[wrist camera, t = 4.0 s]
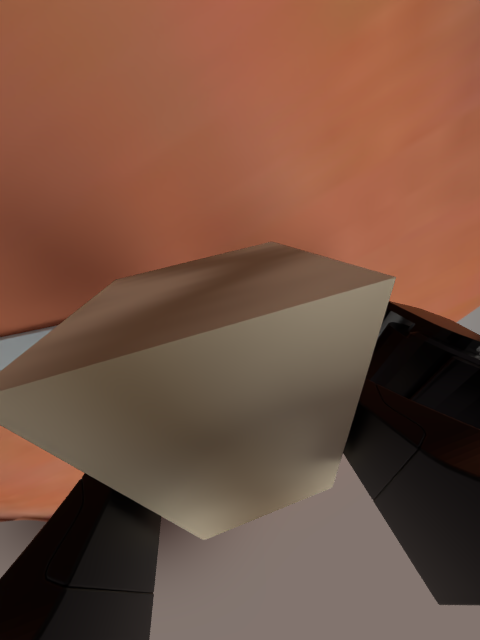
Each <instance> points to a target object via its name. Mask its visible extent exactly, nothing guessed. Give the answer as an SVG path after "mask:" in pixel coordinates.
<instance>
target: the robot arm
mask: <svg viewBox="0 0 480 640" xmlns="http://www.w3.org/2000/svg"><path fill="white" fill-rule="evenodd" d="M343 454H344V455H345V456H346V458H347V460H348V462H349V463H350V465H351V466H352V468H353V469H354V471H355V473H356V474H357V476H358V477H359V479H360V480H361V482H362V484H363V485H364V487H365V488H366V490H367V491H368V493H369V495H370V496H371V498H372V499H373V501H374V503H375V505H376V506H377V508H378V509H379V511H380V512H381V514H382V516H383V517H384V519H385V520H386V522H387V524H388V525H389V527H390V528H391V530H392V532H393V533H394V535H395V536H396V538H397V539H398V541H399V543H400V544H401V546H402V547H403V549H404V551H405V552H406V554H407V555H408V557H409V559H410V560H411V562H412V563H413V565H414V566H415V568H416V570H417V571H418V573H419V574H420V576H421V578H422V579H423V581H424V582H425V584H426V586H427V587H428V589H429V590H430V592H431V593H432V595H433V596H434V598H435V599H436V601H437V602H438V604H439V605H480V335H478V334H477V333H475V332H473V331H471V330H469V329H467V328H465V327H463V326H461V325H459V324H458V323H456V322H454V321H452V320H450V319H447V318H444V317H442V316H439V315H436V314H434V313H431V312H428V311H425V310H423V309H420V308H416V307H412V306H407V305H403V304H399V303H395V302H391V301H389V302H388V305H387V309H386V312H385V315H384V318H383V322H382V325H381V328H380V332H379V335H378V338H377V342H376V345H375V348H374V352H373V355H372V358H371V362H370V365H369V368H368V371H367V375H366V378H365V381H364V385H363V388H362V391H361V395H360V398H359V401H358V405H357V408H356V411H355V415H354V418H353V421H352V424H351V428H350V431H349V434H348V438H347V441H346V444H345V448H344V451H343ZM160 524H161V516H160V515H158V514H157V513H155V512H153V511H151V510H149V509H148V508H146V507H144V506H142V505H141V504H139V503H137V502H135V501H134V500H132V499H130V498H128V497H127V496H125V495H123V494H121V493H119V492H118V491H116V490H114V489H112V488H111V487H109V486H107V485H105V484H104V483H102V482H100V481H98V480H97V479H95V478H93V477H91V476H89V475H88V474H86V473H85V474H84V475H83V476H82V479H80V480H79V481H78V483H77V484H76V485H75V487H74V488H73V489H72V491H71V492H70V493H69V495H68V496H67V497H66V499H65V500H64V501H63V502H62V504H61V505H60V506H59V508H58V509H57V510H56V511H55V513H54V514H53V515H52V517H51V518H50V519H49V520H48V522H47V523H46V524H45V525H44V526H43V528H42V529H41V530H40V531H39V533H38V534H37V535H36V536H35V538H34V539H33V540H32V542H31V543H30V544H29V545H28V546H27V547H26V549H25V550H24V551H23V552H22V553H21V555H20V556H19V557H18V558H17V559H16V561H15V562H14V563H13V564H12V565H11V567H10V568H9V569H8V570H7V571H6V573H5V574H4V575H3V576H2V577H1V579H0V640H149V637H150V636H149V635H150V627H151V617H152V606H153V596H154V594H153V592H154V585H155V575H156V564H157V555H158V545H159V534H160Z"/></svg>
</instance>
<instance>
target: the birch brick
mask: <svg viewBox="0 0 480 640" xmlns="http://www.w3.org/2000/svg"><path fill="white" fill-rule="evenodd" d="M395 279H396V277H394V276H390V275H387V274H383V273H380V272H376V271H373V270H369V269H366V268H362V267H359V266H355V265H352V264H348V263H345V262H341V261H338V260H334V259H331V258H327V257H324V256H320V255H317V254H313V253H310V252H306V251H303V250H299V249H296V248H292V247H289V246H285V245H282V244H278V243H275V242H268V243H264V244H260V245H256V246H252V247H248V248H244V249H240V250H235V251H231V252H227V253H223V254H219V255H215V256H211V257H207V258H203V259H199V260H194V261H190V262H186V263H182V264H178V265H174V266H170V267H166V268H162V269H157V270H153V271H149V272H145V273H141V274H137V275H133V276H129V277H125V278H121V279H116V280H115V281H113V282H112V283H111V284H110V285H108V286H107V287H106V288H104V289H103V290H102V291H101V292H99V293H98V294H97V295H96V296H94V297H93V298H92V299H91V300H89V301H88V302H87V303H86V304H84V305H83V306H82V307H81V308H79V309H78V310H77V311H75V312H74V313H73V314H72V315H70V316H69V317H68V318H67V319H65V320H64V321H63V322H62V323H60V324H59V325H58V326H57V327H55V328H54V329H53V330H52V331H50V332H49V333H48V334H47V335H45V336H44V337H43V338H41V339H40V340H39V341H38V342H36V343H35V344H34V345H33V346H31V347H30V348H29V349H28V350H26V351H25V352H24V353H23V354H21V355H20V356H19V357H18V358H16V359H15V360H14V361H12V362H11V363H10V364H9V365H7V366H6V367H5V368H4V369H2V370H1V371H0V425H1V426H3V427H5V428H7V429H8V430H10V431H12V432H14V433H15V434H17V435H19V436H21V437H22V438H24V439H26V440H28V441H29V442H31V443H33V444H35V445H37V446H38V447H40V448H42V449H44V450H45V451H47V452H49V453H51V454H52V455H54V456H56V457H58V458H59V459H61V460H63V461H65V462H67V463H68V464H70V465H72V466H74V467H75V468H77V469H79V470H81V471H82V472H84V473H86V474H88V475H89V476H91V477H93V478H95V479H97V480H98V481H100V482H102V483H104V484H105V485H107V486H109V487H111V488H112V489H114V490H116V491H118V492H119V493H121V494H123V495H125V496H127V497H128V498H130V499H132V500H134V501H135V502H137V503H139V504H141V505H142V506H144V507H146V508H148V509H149V510H151V511H153V512H155V513H157V514H158V515H160V516H162V517H164V518H165V519H167V520H169V521H171V522H173V523H174V524H176V525H178V526H180V527H182V528H183V529H185V530H187V531H188V532H190V533H192V534H194V535H195V536H197V537H199V538H201V539H202V540H206V539H208V538H211V537H213V536H216V535H218V534H221V533H223V532H225V531H228V530H230V529H233V528H235V527H237V526H240V525H242V524H245V523H247V522H250V521H252V520H255V519H257V518H259V517H262V516H264V515H267V514H269V513H272V512H274V511H276V510H279V509H281V508H284V507H286V506H289V505H291V504H293V503H296V502H298V501H301V500H303V499H305V498H308V497H310V496H313V495H315V494H317V493H320V492H322V491H325V490H327V489H330V488H332V487H333V484H334V481H335V477H336V474H337V471H338V468H339V464H340V461H341V457H342V454H343V451H344V448H345V444H346V441H347V438H348V434H349V431H350V428H351V424H352V421H353V418H354V415H355V411H356V408H357V405H358V401H359V398H360V395H361V391H362V388H363V385H364V381H365V378H366V375H367V371H368V368H369V365H370V362H371V358H372V355H373V352H374V348H375V345H376V342H377V338H378V335H379V332H380V328H381V325H382V322H383V318H384V315H385V312H386V309H387V305H388V302H389V299H390V295H391V292H392V289H393V285H394V282H395Z"/></svg>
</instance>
